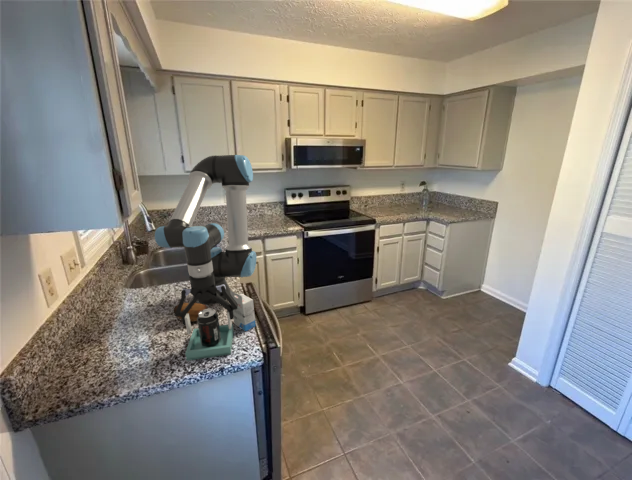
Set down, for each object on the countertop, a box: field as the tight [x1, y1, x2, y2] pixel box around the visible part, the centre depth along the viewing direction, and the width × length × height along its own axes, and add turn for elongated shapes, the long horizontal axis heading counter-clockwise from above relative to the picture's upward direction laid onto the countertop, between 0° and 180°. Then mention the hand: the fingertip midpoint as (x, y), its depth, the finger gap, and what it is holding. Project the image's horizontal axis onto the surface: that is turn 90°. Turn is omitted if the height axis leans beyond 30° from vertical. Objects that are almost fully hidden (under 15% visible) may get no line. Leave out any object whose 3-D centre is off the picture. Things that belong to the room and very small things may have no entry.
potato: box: [172, 302, 209, 323], centre depth 118 cm, size 8×14×8 cm
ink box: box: [230, 290, 256, 332], centre depth 112 cm, size 8×5×15 cm, turn 47°
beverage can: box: [196, 308, 221, 347], centre depth 101 cm, size 7×7×12 cm
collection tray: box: [184, 323, 235, 362], centre depth 103 cm, size 14×14×3 cm
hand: (210, 329), depth 102 cm, fingers open, 13 cm apart
